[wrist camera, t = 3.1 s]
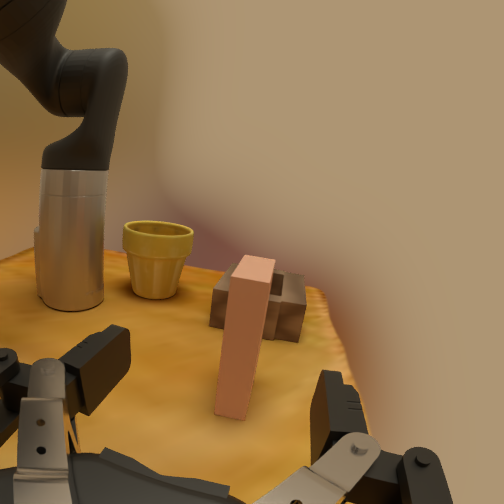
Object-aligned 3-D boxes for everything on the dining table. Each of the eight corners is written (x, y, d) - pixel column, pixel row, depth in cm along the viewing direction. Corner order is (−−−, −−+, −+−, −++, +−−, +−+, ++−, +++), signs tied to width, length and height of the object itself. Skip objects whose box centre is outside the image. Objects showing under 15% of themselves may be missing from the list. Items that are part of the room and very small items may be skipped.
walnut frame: (208, 327, 37) (212, 289, 36) (229, 292, 50) (233, 262, 48) (298, 344, 36) (306, 306, 35) (297, 304, 49) (303, 274, 47)
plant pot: (201, 291, 48) (207, 229, 46) (160, 312, 39) (164, 238, 36) (150, 274, 52) (154, 218, 49) (107, 289, 42) (108, 224, 40)
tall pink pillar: (214, 414, 23) (230, 276, 20) (228, 374, 28) (245, 254, 26) (244, 420, 22) (269, 283, 20) (254, 379, 28) (275, 259, 25)
